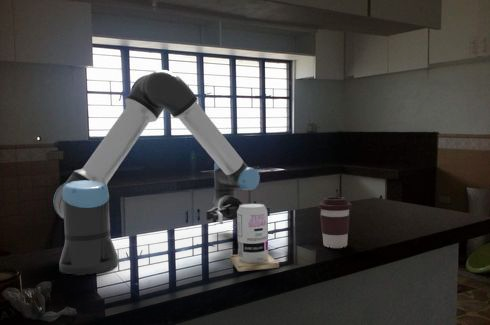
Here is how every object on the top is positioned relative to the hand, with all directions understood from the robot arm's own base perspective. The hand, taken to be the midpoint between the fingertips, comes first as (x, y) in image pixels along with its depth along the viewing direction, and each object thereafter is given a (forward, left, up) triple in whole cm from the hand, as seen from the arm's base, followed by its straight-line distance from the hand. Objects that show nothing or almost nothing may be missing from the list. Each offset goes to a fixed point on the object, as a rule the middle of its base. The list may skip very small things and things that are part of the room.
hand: (244, 218), depth 123 cm
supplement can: (0, -10, -10) cm, 14 cm away
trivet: (0, -10, -11) cm, 15 cm away
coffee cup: (+29, 0, -11) cm, 31 cm away
